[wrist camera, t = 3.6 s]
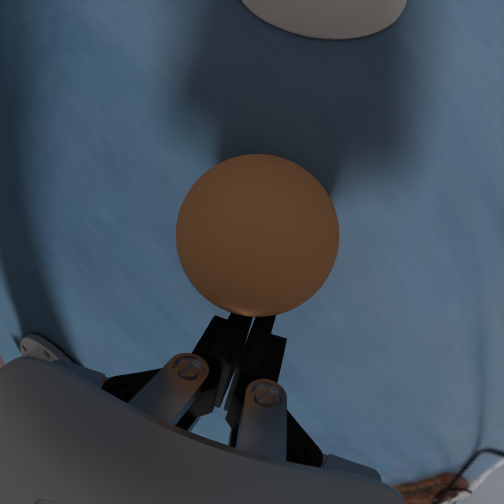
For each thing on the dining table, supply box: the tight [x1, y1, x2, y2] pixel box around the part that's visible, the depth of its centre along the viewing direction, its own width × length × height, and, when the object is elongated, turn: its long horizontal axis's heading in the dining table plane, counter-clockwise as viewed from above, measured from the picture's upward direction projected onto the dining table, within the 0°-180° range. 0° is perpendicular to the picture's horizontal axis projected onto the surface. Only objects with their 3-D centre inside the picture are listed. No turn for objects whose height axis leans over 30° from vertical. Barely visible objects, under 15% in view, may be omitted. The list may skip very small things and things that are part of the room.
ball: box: [176, 154, 339, 317], centre depth 10 cm, size 6×6×6 cm
